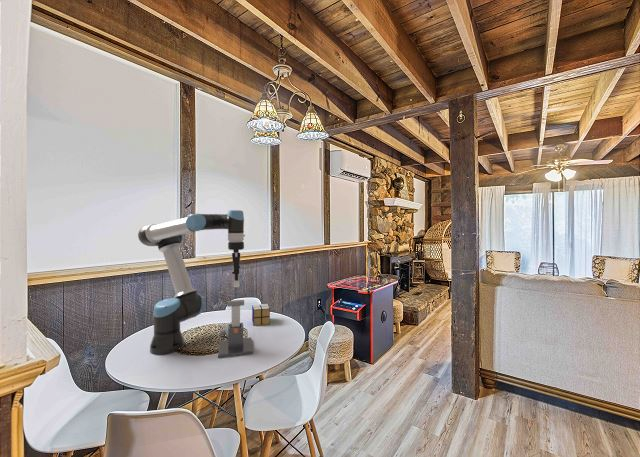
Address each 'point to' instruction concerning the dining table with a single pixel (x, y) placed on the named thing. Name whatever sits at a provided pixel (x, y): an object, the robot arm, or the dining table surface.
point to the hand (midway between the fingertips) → (236, 284)
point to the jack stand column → (235, 312)
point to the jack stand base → (235, 343)
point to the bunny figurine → (224, 329)
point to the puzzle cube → (260, 314)
